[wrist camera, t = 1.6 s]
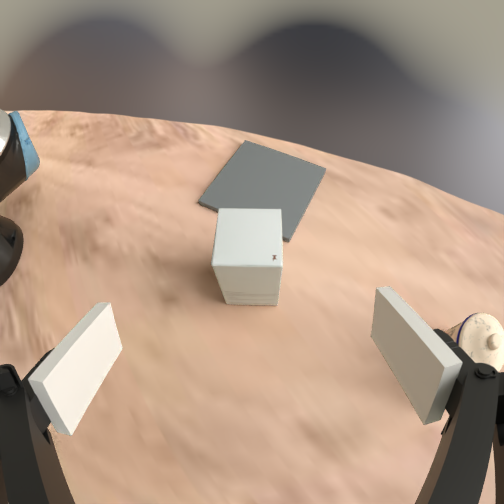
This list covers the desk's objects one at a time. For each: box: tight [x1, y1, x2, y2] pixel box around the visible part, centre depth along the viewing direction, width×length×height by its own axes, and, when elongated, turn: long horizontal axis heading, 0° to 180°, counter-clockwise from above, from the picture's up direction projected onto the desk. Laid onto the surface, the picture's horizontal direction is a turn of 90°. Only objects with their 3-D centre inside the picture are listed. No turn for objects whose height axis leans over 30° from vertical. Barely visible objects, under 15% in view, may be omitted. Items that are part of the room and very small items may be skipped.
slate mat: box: [199, 140, 326, 242], centre depth 51 cm, size 16×16×1 cm
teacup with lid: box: [445, 313, 504, 372], centre depth 31 cm, size 12×9×12 cm
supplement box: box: [211, 208, 283, 306], centre depth 38 cm, size 7×7×13 cm
